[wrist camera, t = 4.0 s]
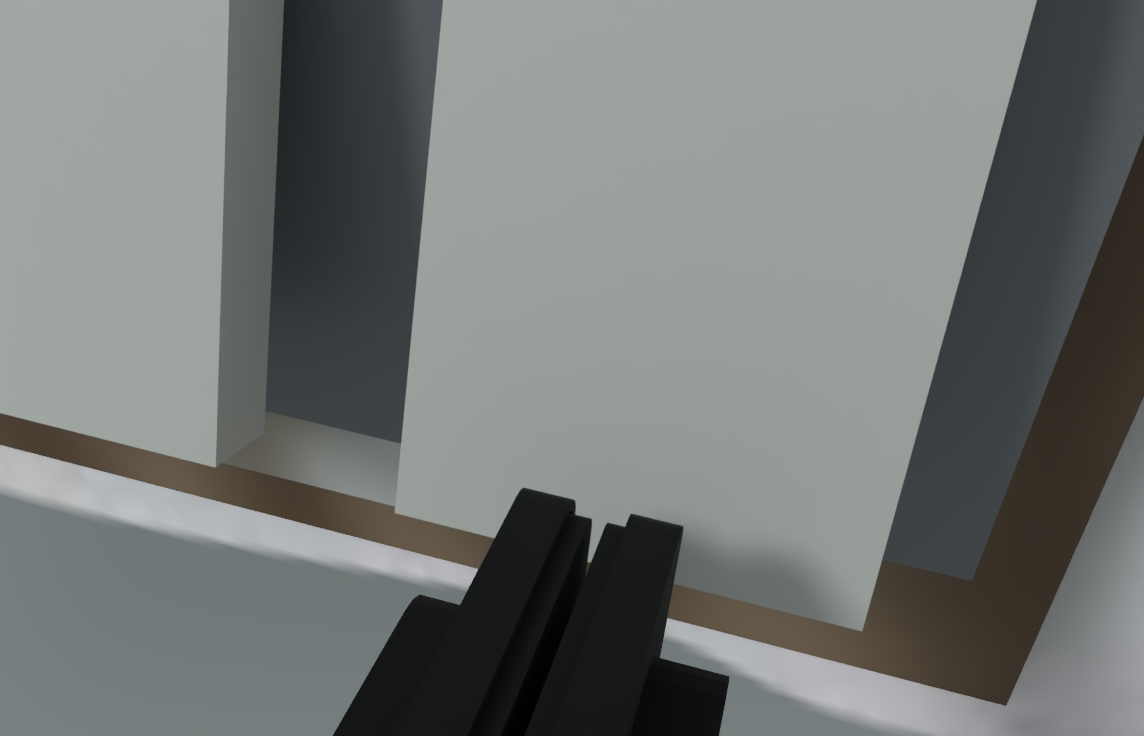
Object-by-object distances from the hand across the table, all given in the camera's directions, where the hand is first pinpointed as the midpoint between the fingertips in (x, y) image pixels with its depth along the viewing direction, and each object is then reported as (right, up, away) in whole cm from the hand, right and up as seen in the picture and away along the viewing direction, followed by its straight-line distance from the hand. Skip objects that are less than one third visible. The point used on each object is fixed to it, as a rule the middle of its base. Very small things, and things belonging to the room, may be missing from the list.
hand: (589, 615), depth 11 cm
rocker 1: (-6, +6, +3) cm, 9 cm away
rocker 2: (+1, +4, +1) cm, 5 cm away
